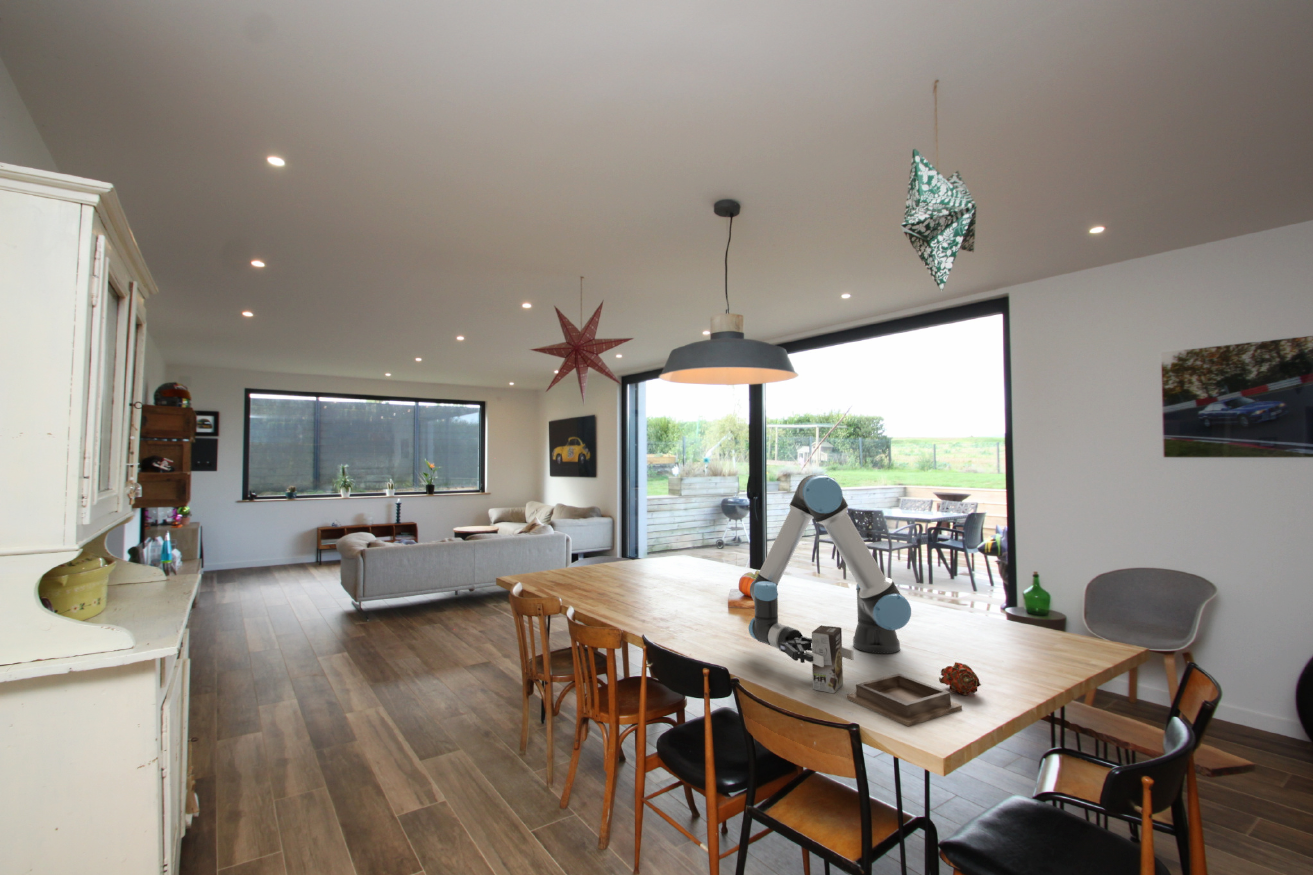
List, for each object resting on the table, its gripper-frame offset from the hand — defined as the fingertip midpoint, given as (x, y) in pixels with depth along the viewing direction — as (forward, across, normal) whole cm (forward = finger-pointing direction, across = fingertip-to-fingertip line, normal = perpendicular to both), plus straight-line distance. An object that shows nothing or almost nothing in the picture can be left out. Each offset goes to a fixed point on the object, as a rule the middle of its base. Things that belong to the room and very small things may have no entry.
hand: (837, 658), depth 170 cm
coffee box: (-4, 0, -9) cm, 10 cm away
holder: (+15, -8, -9) cm, 19 cm away
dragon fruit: (+17, -28, -9) cm, 34 cm away
